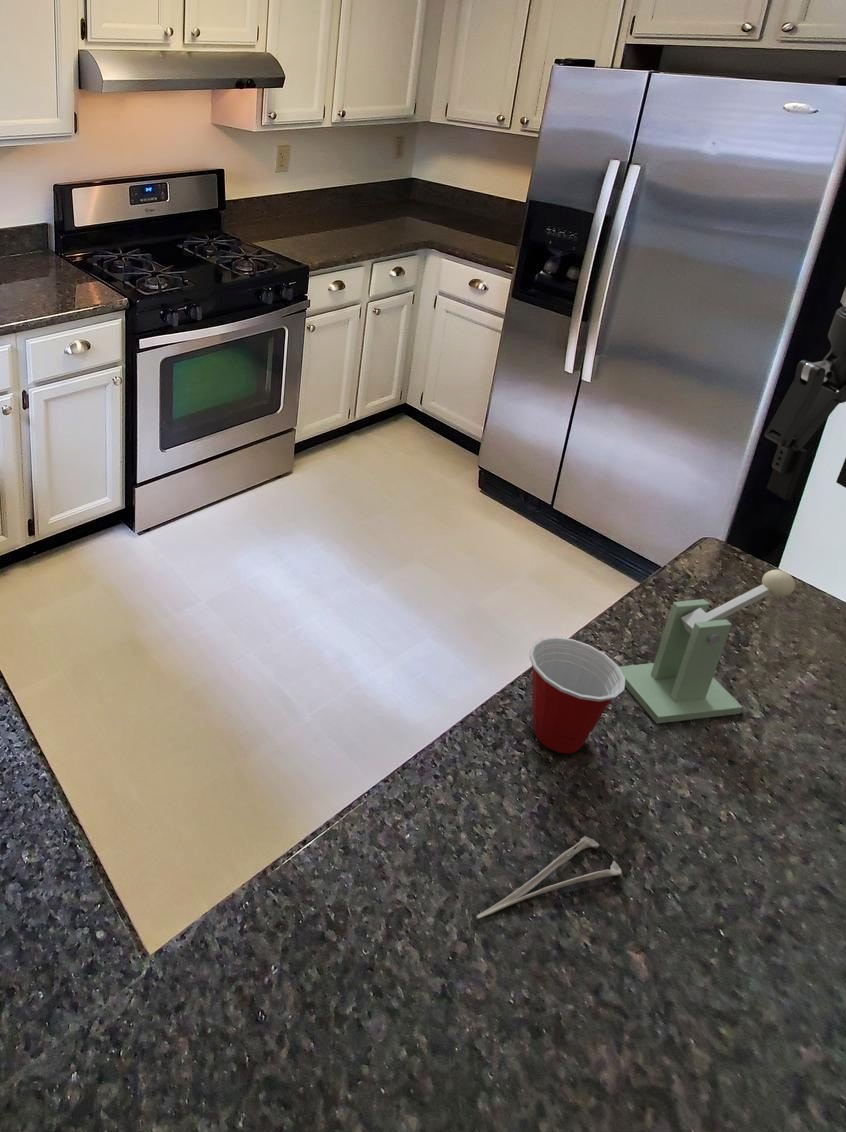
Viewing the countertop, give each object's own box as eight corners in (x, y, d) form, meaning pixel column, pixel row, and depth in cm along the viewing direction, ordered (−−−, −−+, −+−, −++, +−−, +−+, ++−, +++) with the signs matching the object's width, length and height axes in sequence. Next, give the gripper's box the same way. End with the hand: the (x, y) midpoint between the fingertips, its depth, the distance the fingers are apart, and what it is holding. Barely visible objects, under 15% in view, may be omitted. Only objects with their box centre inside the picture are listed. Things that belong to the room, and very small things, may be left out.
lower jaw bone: (588, 839, 89) (591, 828, 88) (623, 878, 85) (627, 866, 84) (460, 904, 84) (462, 893, 83) (491, 948, 80) (493, 937, 79)
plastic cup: (625, 751, 100) (647, 678, 94) (563, 783, 95) (583, 710, 90) (554, 692, 108) (572, 623, 103) (495, 719, 104) (510, 649, 99)
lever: (782, 577, 104) (777, 559, 102) (804, 593, 101) (799, 576, 99) (682, 628, 105) (676, 612, 104) (700, 646, 102) (694, 629, 101)
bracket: (692, 664, 113) (719, 586, 107) (740, 713, 105) (772, 632, 99) (613, 673, 111) (636, 594, 106) (656, 723, 103) (683, 641, 98)
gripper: (935, 297, 91) (865, 468, 100) (764, 306, 88) (709, 481, 98) (1004, 318, 84) (922, 500, 94) (821, 329, 82) (756, 515, 91)
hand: (813, 490), depth 96 cm, fingers open, 9 cm apart
